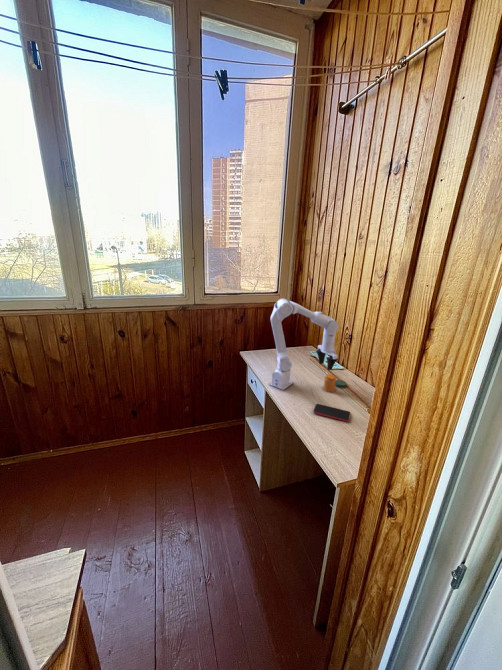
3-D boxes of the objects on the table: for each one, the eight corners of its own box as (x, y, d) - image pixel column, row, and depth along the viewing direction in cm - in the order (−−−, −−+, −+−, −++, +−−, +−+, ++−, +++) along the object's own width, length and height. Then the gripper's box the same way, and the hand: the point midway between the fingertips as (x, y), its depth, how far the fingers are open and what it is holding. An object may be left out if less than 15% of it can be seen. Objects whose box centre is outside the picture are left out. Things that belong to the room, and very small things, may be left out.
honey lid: (333, 383, 150) (333, 386, 151) (345, 386, 148) (345, 388, 149) (335, 378, 155) (335, 381, 156) (347, 381, 153) (346, 383, 154)
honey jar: (333, 393, 144) (334, 380, 142) (322, 390, 147) (323, 377, 145) (336, 388, 149) (337, 375, 147) (325, 385, 152) (326, 372, 149)
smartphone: (348, 421, 122) (312, 411, 127) (348, 422, 122) (312, 413, 127) (350, 411, 128) (316, 403, 134) (350, 413, 128) (316, 404, 134)
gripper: (344, 346, 142) (340, 371, 146) (326, 336, 154) (324, 359, 159) (331, 347, 139) (328, 373, 144) (315, 337, 152) (312, 361, 157)
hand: (325, 366), depth 151 cm, fingers open, 7 cm apart
